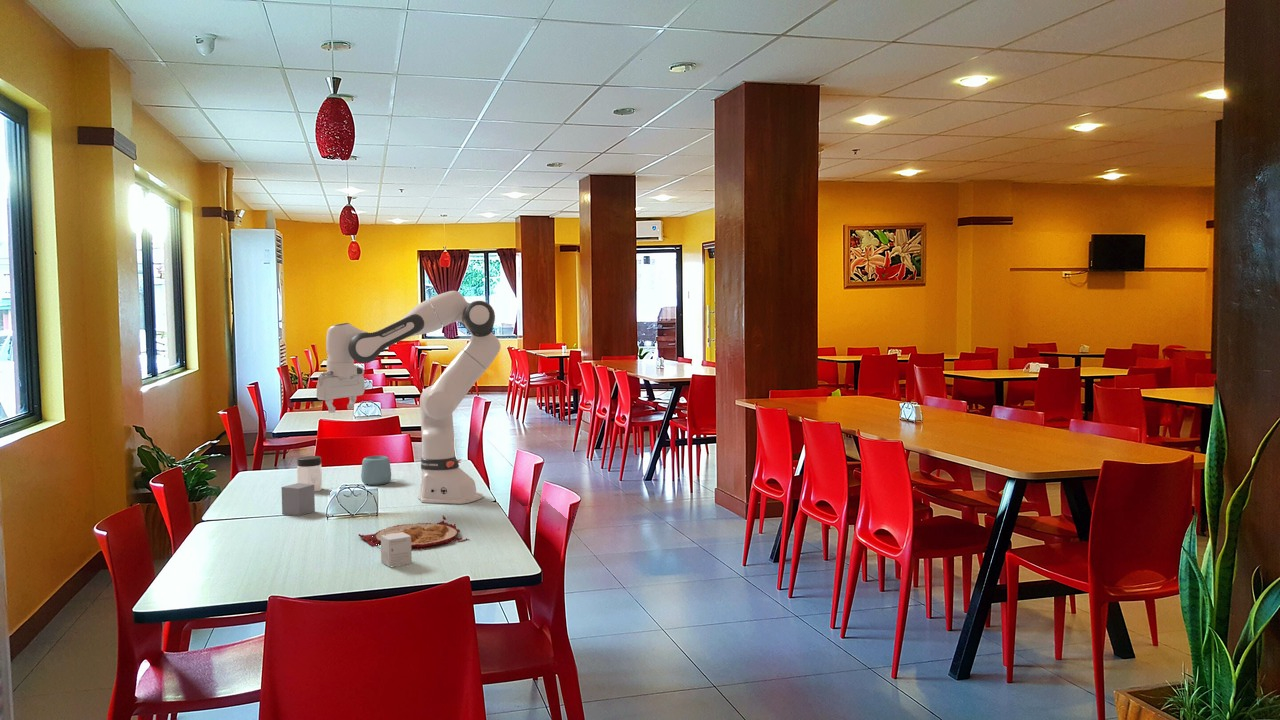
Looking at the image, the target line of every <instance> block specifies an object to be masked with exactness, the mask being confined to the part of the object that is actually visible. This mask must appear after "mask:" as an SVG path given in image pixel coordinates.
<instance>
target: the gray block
mask: <svg viewBox="0 0 1280 720" xmlns="http://www.w3.org/2000/svg"><path fill="white" fill-rule="evenodd" d="M315 497H316V496H315V492H314V485H313V484H301V483H298V482H296V483H293V484H288V485H285V486H281V511H282V515H288V516H296V517H300V516H304V515H306V514H310V513H314V512H315V511H316V505H315V504H316V503H315V502H316V501H315Z"/></svg>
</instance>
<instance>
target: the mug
mask: <svg viewBox="0 0 1280 720" xmlns="http://www.w3.org/2000/svg"><path fill="white" fill-rule="evenodd" d="M361 463H362V464H361V473H360V475H361V476H360V478H361V482H362V483H363V484H365V485H367V484H368V486H380V485H385V484H388V483H389V482H390V481H391V480H392V469H391V461H390V457H388V456H385V455H371V456H366V457H364V458H363V459H362V462H361Z"/></svg>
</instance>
